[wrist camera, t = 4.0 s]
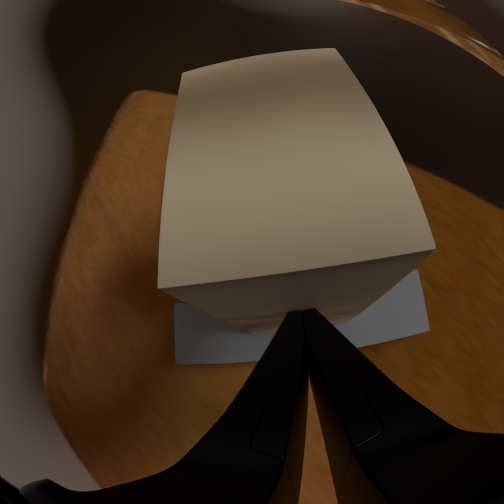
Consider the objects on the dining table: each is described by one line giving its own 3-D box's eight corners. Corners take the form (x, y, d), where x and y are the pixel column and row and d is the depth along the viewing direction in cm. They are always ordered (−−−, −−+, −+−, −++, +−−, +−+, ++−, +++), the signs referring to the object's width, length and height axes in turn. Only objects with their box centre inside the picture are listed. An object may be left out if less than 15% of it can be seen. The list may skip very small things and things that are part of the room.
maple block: (350, 320, 13) (436, 248, 4) (253, 334, 14) (157, 288, 5) (326, 202, 16) (335, 48, 7) (244, 214, 17) (182, 73, 7)
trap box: (416, 333, 14) (429, 330, 12) (189, 364, 16) (175, 364, 14) (360, 140, 20) (363, 122, 18) (189, 166, 21) (180, 151, 20)
